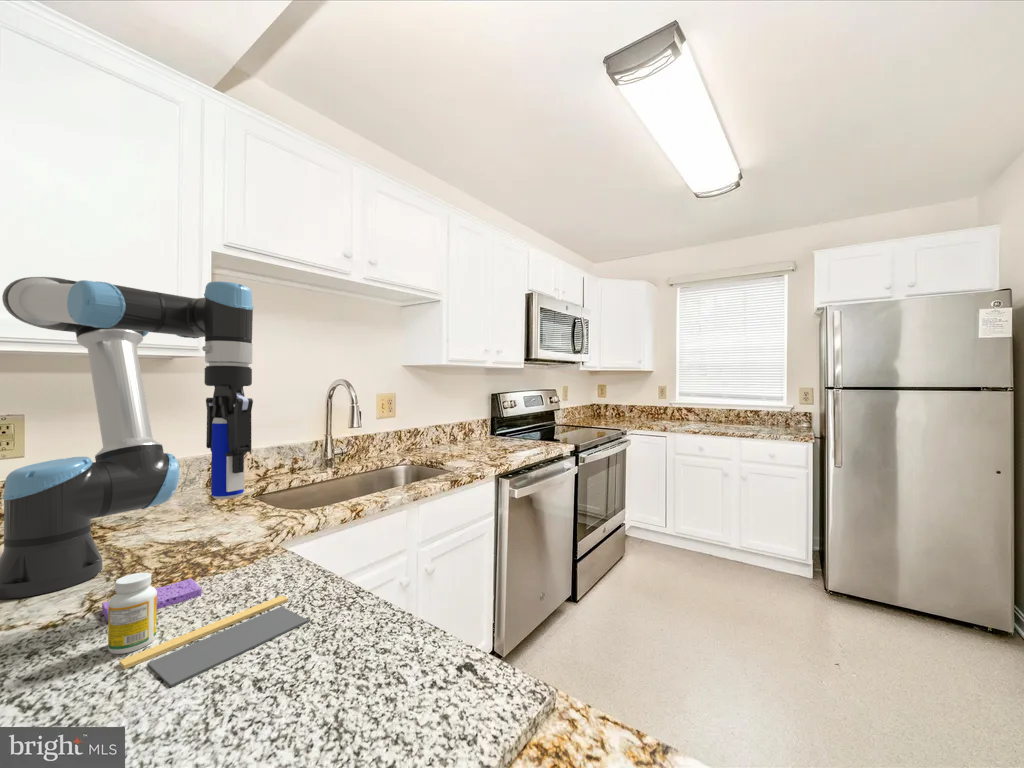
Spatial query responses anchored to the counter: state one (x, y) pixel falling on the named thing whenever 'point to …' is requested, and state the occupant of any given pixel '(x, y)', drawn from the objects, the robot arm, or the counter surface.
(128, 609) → the supplement bottle
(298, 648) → the counter surface
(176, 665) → the mat
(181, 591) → the sponges
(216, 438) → the beverage can
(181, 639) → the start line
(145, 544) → the counter surface
